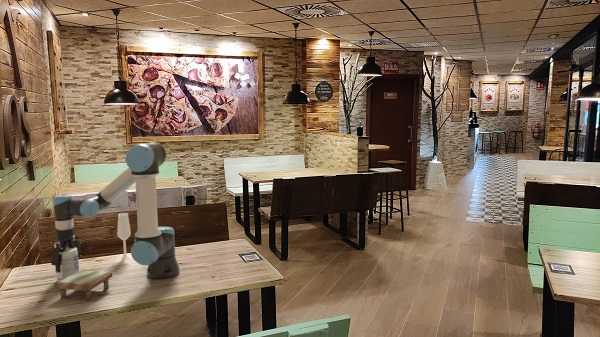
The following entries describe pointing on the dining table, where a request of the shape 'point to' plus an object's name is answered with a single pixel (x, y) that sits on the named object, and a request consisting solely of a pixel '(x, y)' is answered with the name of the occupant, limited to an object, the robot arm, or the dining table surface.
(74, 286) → the small wooden table
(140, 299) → the dining table surface
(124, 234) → the champagne flute
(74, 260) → the supplement tub
